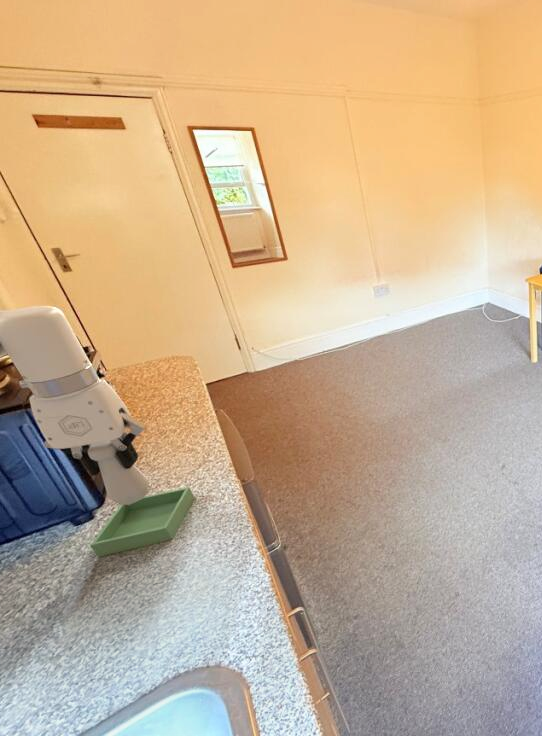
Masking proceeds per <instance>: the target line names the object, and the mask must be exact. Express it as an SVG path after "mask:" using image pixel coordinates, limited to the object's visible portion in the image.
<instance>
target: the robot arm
mask: <svg viewBox="0 0 542 736" xmlns="http://www.w3.org/2000/svg"><path fill="white" fill-rule="evenodd" d="M6 355H7V356H8V357H9V358H10V360H11V362H12V363H13V365H14V366H15V368H16V369H17V371H18V373H19V374H20V376H21V377H22V380H20V381H19V383H18V385H19V387H20V388H21V389H29V390H30V391H31V393H32V395H30V396H29V398H28V399H29V404H30V409H31V412H32V415H33V416H34V420H35V422H36V424H37V426H38V428H39V430H40V433H41V434H42V436H43V437H44V439H45V441H44V443H43V447H45V448H47V449H52V450H56V451H57V450H58V451H61V452H62V453H66V454H68V455H72V457H73V458H74V459H77V460H80V461H81V463H82V464H83V466H84V467H85V468H86V470H87V471H88V472H89V474H90V476H97V475H98V474H99V473H101V471H100V468H99V465H98V461H95V460H92V459H91V458H90V457H89V455H88V449H89V448H90V447H91V446H92V445H93V444H95V443H100V442H106V441H110V442H111V443H112V444H113V445H114V446H115V447H116V448H117V449H118V451H117V452H116V455H117V456H118V458H119V460H120V461H121V463H122V465H123V467H124V468H126V469H129V468H131V467H132V466H133V465H135V463H136V462H137V461H138V459H139V454H138V452H137V450H136V449H135V447H134V445H133V442H134V440H135V438H137V437H138V436H139V435H140V434H141V433H142V432H143V431H144V430H146V428H147V424H146V423H144V422H142V421H140V420H139V419H136V418H135V417H133V416H132V415H131V413H130V410H129V409H128V408H127V406H126V405H125V403H124V402H123V400H122V399H121V397H120V396H119V394H118V393H117V392H116V391H115V389H114V388H113V387H112V386H111V385H110V384H109V383H108V382H107V381H106V380H105V379H104V378H100V377H99V376H98V373H97V372H96V370H95V368H94V366H93V364H92V363H91V361H90V359H89V357H88V355H87V354H86V352H85V350H84V348H83V346H82V345H81V343H80V341H79V339H78V337H77V335H76V334H75V332H74V329H73V328H72V326H71V325H70V323H69V321H68V319H67V317H66V316H65V314H64V313H63V311H62V310H60V309H59V308H57V307H55V306H52V305H35V306H34V305H33V306H27V307H22V308H17V309H12V310H11V309H9V310H5V309H3V310H0V358H3V357H5V356H6ZM126 428H128V429H130V431H128V430H126Z"/></svg>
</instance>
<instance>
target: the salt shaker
mask: <svg viewBox="0 0 542 736" xmlns="http://www.w3.org/2000/svg"><path fill="white" fill-rule="evenodd" d="M117 451H118V449H117V448H116V447H115V446H114V445H113V444H112V443H111V442H110V441H106V442H100V443H95V444H91V447H90V448H89V449H88V455H89V457H90V458H91V459H92V460H95V461H98V465H99V468H100V474H101V478H102V481H103V484H104V488H105V491H106V495H107V498H108V500H110V501H112V502H114V503H117V504H118V505H119V506H120V505H130V504H132V503H135V502H137V501H139V500H141V499H142V498H143V497H144V496H147V494H148V493H149V485H150V483H149V479H148V477H147V475H145V474H144V473H143V472H142V471H141V470H140V469H139V468H138V467H136V466H135V464H133V466H132V467H131V468H129V469H126V468H124V467H123V465H122V463H121V461H120V460H119V458H118V456H117V455H116V452H117Z"/></svg>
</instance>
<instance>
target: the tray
mask: <svg viewBox="0 0 542 736" xmlns="http://www.w3.org/2000/svg"><path fill="white" fill-rule="evenodd" d="M195 498H196V497H195V495H194V493H193V491H192V489H191V488H190V486H187V487H183V488H178V489H173V490H168V491H163V492H159V493H154V494H150V495H149V494H148V495H145V496H144V497H143V498H142V499H141V500H139V501H137V502H135V503H132V504H130V505H120V504H119V506H118V507H117V509H116V510H115V511H114V512H113V514H112V515H111V516H110V518H109V519H108V520H107V522H106V523H105V524H104V526H103V527H102V529H101V530H100V532H98V534H97V535H96V537H95V538H94V539H93V541H92V542H91V543H90V546H89V547H90V548H91V549H92V551H93V552H94V553H95V554H96V556H97V557H98V558H100V557H103V556H104V557H105V556H108V555H112V554H116V553H120V552H125V551H129V550H134V549H137V548H142V547H145V546H149V545H154V544H159V543H162V542H165V541H170V540H174V537H175V536H176V533H177V532H178V529H179V528H180V526H181V524H182V522H183V521H184V519H185V517H186V515H187V513H188V511H189V510H190V508H191V505H192V503H193V502H194V500H195Z"/></svg>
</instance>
